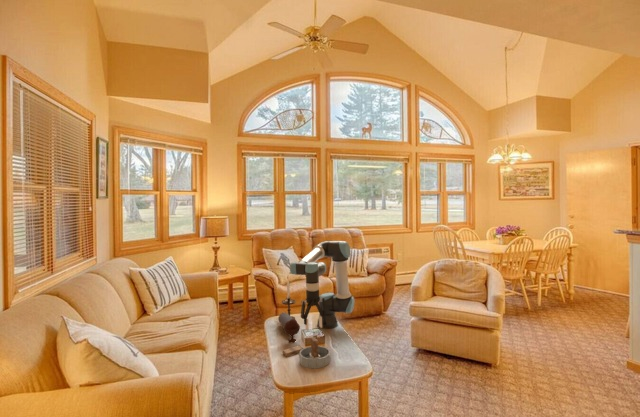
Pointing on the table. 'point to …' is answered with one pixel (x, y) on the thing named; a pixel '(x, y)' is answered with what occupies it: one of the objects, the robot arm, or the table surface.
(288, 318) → the bluetooth speaker
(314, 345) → the wick slat
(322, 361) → the grey pet bowl
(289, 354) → the slat
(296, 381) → the table surface
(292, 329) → the ice cream bowl
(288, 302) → the candlestick
